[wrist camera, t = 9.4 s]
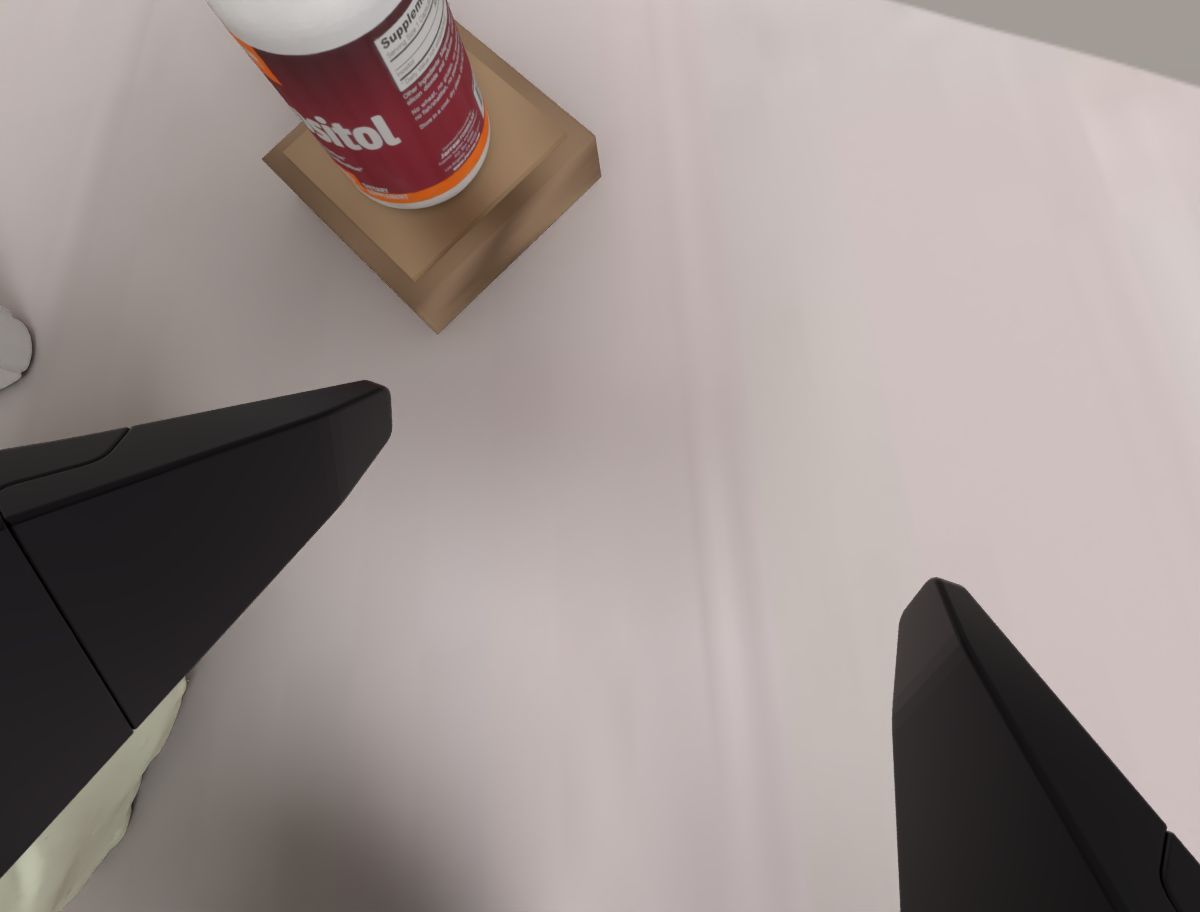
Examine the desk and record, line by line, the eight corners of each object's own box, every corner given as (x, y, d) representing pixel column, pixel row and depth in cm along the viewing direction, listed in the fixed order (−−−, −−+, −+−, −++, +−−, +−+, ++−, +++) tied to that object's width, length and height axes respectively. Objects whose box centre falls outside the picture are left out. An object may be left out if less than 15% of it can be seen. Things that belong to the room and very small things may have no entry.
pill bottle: (319, 182, 24) (33, -137, 13) (395, 60, 24) (186, -339, 14) (447, 240, 23) (253, -53, 12) (523, 111, 23) (406, -278, 12)
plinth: (437, 334, 25) (410, 306, 22) (297, 195, 27) (256, 154, 24) (601, 176, 26) (594, 130, 23) (452, 51, 27) (430, -5, 25)
